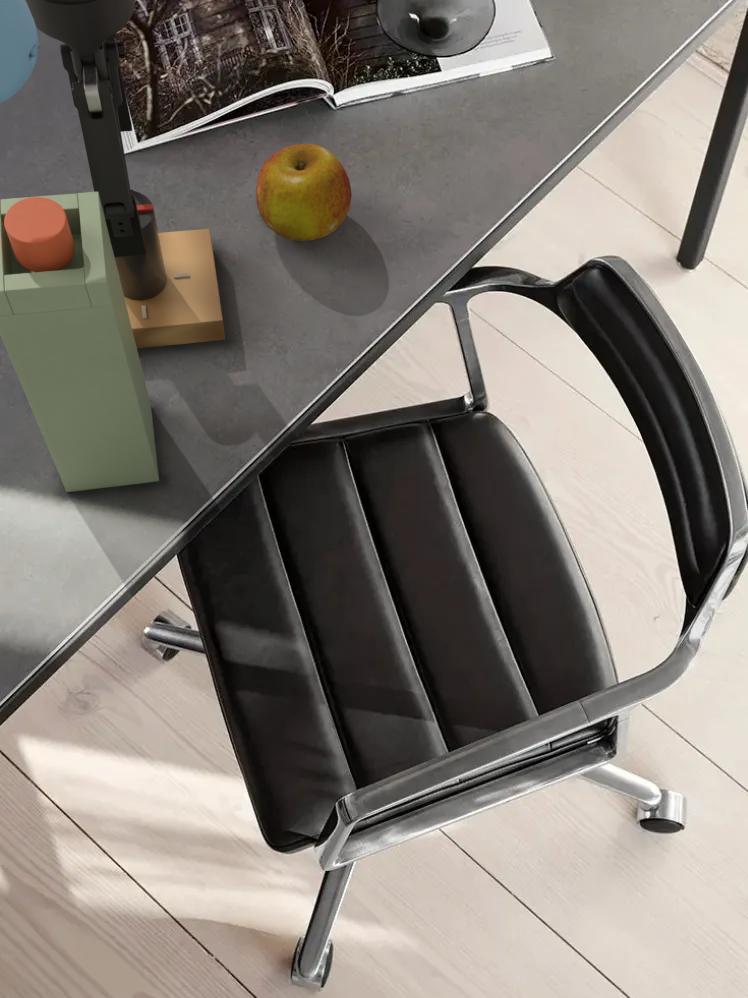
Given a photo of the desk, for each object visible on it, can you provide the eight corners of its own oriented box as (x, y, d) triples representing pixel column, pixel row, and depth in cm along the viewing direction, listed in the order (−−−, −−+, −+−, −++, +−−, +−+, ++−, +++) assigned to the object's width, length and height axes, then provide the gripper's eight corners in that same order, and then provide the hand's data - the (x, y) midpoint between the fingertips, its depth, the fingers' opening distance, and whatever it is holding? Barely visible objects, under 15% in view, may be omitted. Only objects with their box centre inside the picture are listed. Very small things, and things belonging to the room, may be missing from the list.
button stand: (66, 492, 99) (-18, 293, 74) (61, 415, 102) (-22, 200, 77) (159, 481, 100) (106, 282, 75) (151, 406, 103) (98, 191, 79)
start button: (16, 276, 76) (4, 245, 73) (13, 230, 78) (2, 198, 75) (77, 270, 77) (68, 240, 74) (73, 225, 78) (64, 194, 76)
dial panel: (73, 355, 105) (66, 334, 102) (66, 262, 109) (59, 239, 106) (225, 340, 107) (222, 319, 104) (212, 249, 111) (209, 226, 108)
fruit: (306, 172, 116) (305, 110, 109) (369, 222, 114) (373, 163, 107) (238, 221, 113) (232, 161, 106) (302, 273, 111) (301, 216, 104)
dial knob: (116, 302, 104) (98, 232, 95) (112, 261, 106) (94, 189, 97) (169, 297, 104) (155, 227, 96) (164, 257, 106) (150, 185, 98)
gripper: (143, 89, 71) (182, 303, 90) (113, -163, 81) (154, 78, 100) (20, 98, 70) (86, 312, 89) (4, -160, 80) (67, 84, 99)
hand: (122, 189), depth 95 cm, fingers open, 13 cm apart
